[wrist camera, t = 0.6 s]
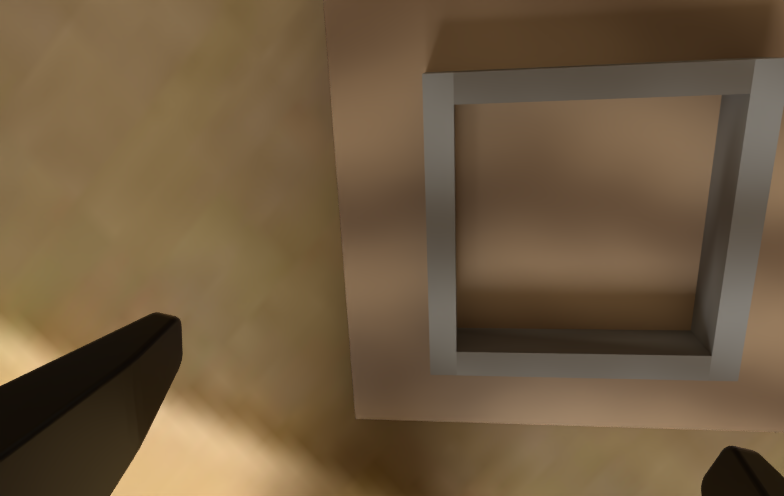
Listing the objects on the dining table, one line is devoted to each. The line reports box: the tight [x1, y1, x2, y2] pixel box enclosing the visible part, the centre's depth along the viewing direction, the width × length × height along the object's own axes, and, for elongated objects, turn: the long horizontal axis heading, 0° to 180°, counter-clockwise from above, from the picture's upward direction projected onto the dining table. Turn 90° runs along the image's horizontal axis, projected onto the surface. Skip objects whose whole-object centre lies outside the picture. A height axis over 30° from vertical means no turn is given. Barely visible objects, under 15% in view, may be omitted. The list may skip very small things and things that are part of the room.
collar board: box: [323, 0, 784, 432], centre depth 21 cm, size 18×18×3 cm
